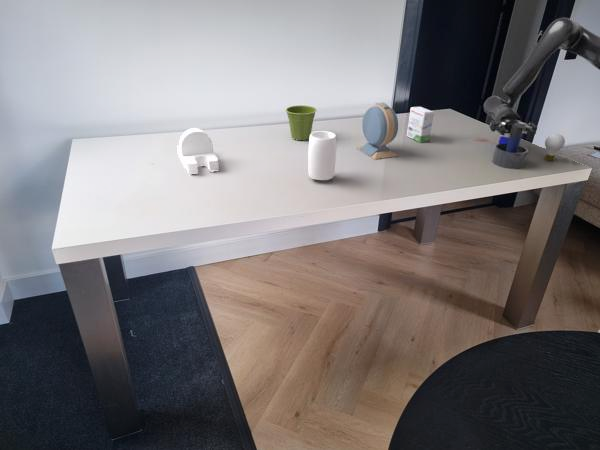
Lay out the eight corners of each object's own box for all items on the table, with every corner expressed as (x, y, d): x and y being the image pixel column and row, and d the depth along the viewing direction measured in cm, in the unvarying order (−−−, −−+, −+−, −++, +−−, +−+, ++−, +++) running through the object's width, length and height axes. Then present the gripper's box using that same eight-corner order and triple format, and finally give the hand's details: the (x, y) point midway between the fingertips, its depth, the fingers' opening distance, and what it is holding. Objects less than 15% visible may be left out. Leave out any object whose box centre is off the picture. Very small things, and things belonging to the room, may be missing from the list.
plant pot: (290, 132, 174) (290, 104, 168) (318, 135, 171) (320, 106, 166) (281, 141, 164) (281, 112, 159) (311, 144, 162) (312, 115, 156)
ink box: (429, 141, 168) (435, 111, 162) (419, 142, 166) (424, 112, 160) (415, 134, 174) (420, 105, 168) (405, 136, 172) (410, 107, 166)
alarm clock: (399, 157, 152) (406, 107, 143) (376, 160, 149) (382, 109, 140) (377, 144, 163) (382, 97, 155) (355, 147, 160) (359, 99, 151)
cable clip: (506, 144, 166) (510, 129, 163) (518, 147, 163) (522, 132, 160) (492, 151, 159) (496, 136, 156) (503, 155, 156) (508, 139, 153)
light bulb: (548, 157, 155) (556, 130, 150) (561, 163, 150) (571, 135, 145) (535, 159, 153) (544, 132, 148) (548, 165, 148) (558, 137, 143)
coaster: (493, 140, 170) (494, 139, 169) (493, 147, 163) (493, 146, 163) (472, 138, 172) (472, 137, 172) (471, 144, 166) (471, 143, 166)
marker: (512, 162, 148) (523, 125, 142) (512, 165, 146) (523, 128, 139) (502, 160, 150) (512, 124, 143) (502, 163, 147) (512, 126, 140)
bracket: (177, 155, 149) (173, 123, 144) (206, 151, 153) (203, 120, 147) (188, 175, 134) (183, 140, 129) (219, 171, 138) (217, 137, 132)
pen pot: (522, 162, 150) (527, 145, 147) (523, 172, 142) (528, 155, 139) (492, 157, 154) (496, 141, 151) (491, 167, 146) (495, 150, 143)
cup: (316, 171, 140) (318, 128, 132) (339, 177, 136) (342, 133, 129) (302, 179, 133) (303, 135, 126) (325, 186, 130) (328, 141, 122)
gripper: (488, 107, 153) (497, 120, 140) (531, 110, 151) (544, 124, 137) (483, 128, 157) (492, 142, 143) (524, 131, 155) (537, 146, 141)
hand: (517, 133), depth 140 cm, fingers open, 8 cm apart
